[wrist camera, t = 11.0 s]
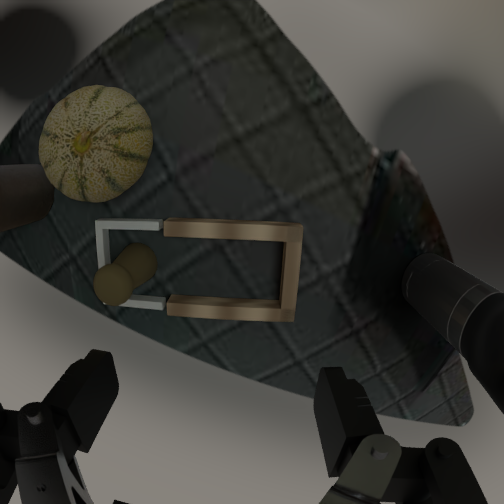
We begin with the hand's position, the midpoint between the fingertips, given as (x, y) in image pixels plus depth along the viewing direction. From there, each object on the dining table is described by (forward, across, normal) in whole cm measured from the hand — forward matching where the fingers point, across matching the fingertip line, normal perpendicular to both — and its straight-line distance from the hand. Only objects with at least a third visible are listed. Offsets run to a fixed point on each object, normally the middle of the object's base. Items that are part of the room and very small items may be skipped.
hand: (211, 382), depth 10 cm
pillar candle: (+32, +35, -5) cm, 48 cm away
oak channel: (+32, +1, +6) cm, 33 cm away
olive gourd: (+32, +15, +6) cm, 36 cm away
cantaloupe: (+32, +18, -11) cm, 39 cm away
